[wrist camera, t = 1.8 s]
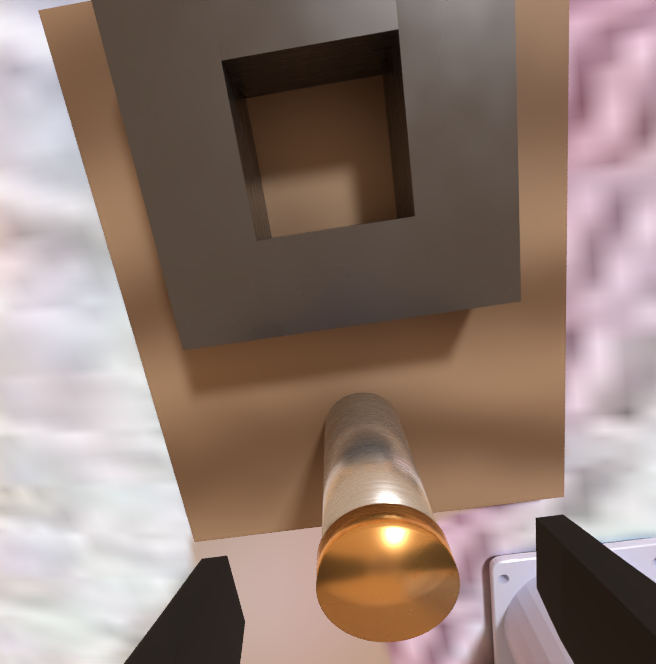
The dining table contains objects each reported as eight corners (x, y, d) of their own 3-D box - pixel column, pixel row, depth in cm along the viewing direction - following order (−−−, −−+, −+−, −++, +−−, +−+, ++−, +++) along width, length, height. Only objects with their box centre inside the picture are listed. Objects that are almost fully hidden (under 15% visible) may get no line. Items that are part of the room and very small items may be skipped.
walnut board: (551, 481, 17) (564, 496, 16) (201, 525, 18) (194, 542, 17) (551, -65, 12) (570, -90, 11) (59, 26, 13) (38, 10, 12)
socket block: (482, 285, 14) (521, 301, 11) (212, 325, 15) (183, 350, 12) (466, -49, 12) (512, -141, 9) (137, 11, 12) (76, -56, 9)
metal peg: (405, 456, 16) (464, 634, 9) (328, 466, 16) (327, 648, 9) (397, 384, 15) (454, 519, 8) (316, 395, 15) (305, 538, 8)
